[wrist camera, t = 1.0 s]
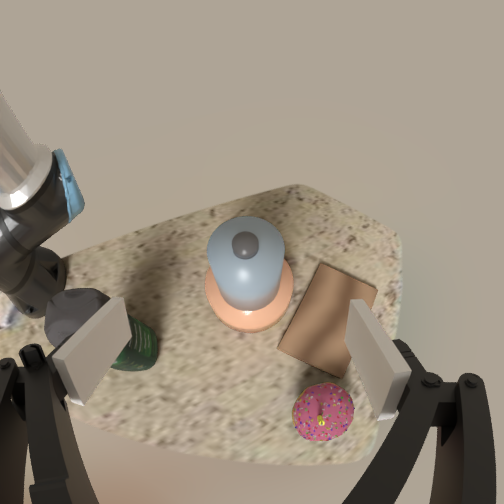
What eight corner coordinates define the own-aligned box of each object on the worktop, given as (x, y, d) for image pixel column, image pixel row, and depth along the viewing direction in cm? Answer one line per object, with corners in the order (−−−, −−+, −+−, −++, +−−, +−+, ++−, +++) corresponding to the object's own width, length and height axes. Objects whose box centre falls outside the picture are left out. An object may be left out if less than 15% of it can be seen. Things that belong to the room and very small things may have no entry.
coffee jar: (159, 324, 44) (105, 278, 28) (160, 371, 40) (101, 351, 24) (108, 326, 44) (43, 284, 28) (107, 371, 40) (35, 347, 24)
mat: (277, 348, 42) (277, 347, 41) (319, 265, 48) (320, 262, 48) (340, 378, 39) (342, 378, 38) (376, 292, 46) (378, 289, 45)
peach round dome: (195, 308, 45) (188, 297, 41) (235, 246, 51) (233, 231, 46) (266, 347, 42) (267, 341, 38) (303, 278, 47) (307, 265, 43)
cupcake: (305, 447, 34) (321, 464, 24) (278, 402, 38) (284, 404, 27) (354, 417, 36) (385, 421, 25) (327, 373, 40) (350, 364, 29)
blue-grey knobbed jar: (206, 293, 41) (189, 257, 32) (237, 245, 45) (231, 200, 35) (261, 322, 39) (261, 294, 29) (290, 270, 43) (298, 228, 33)
